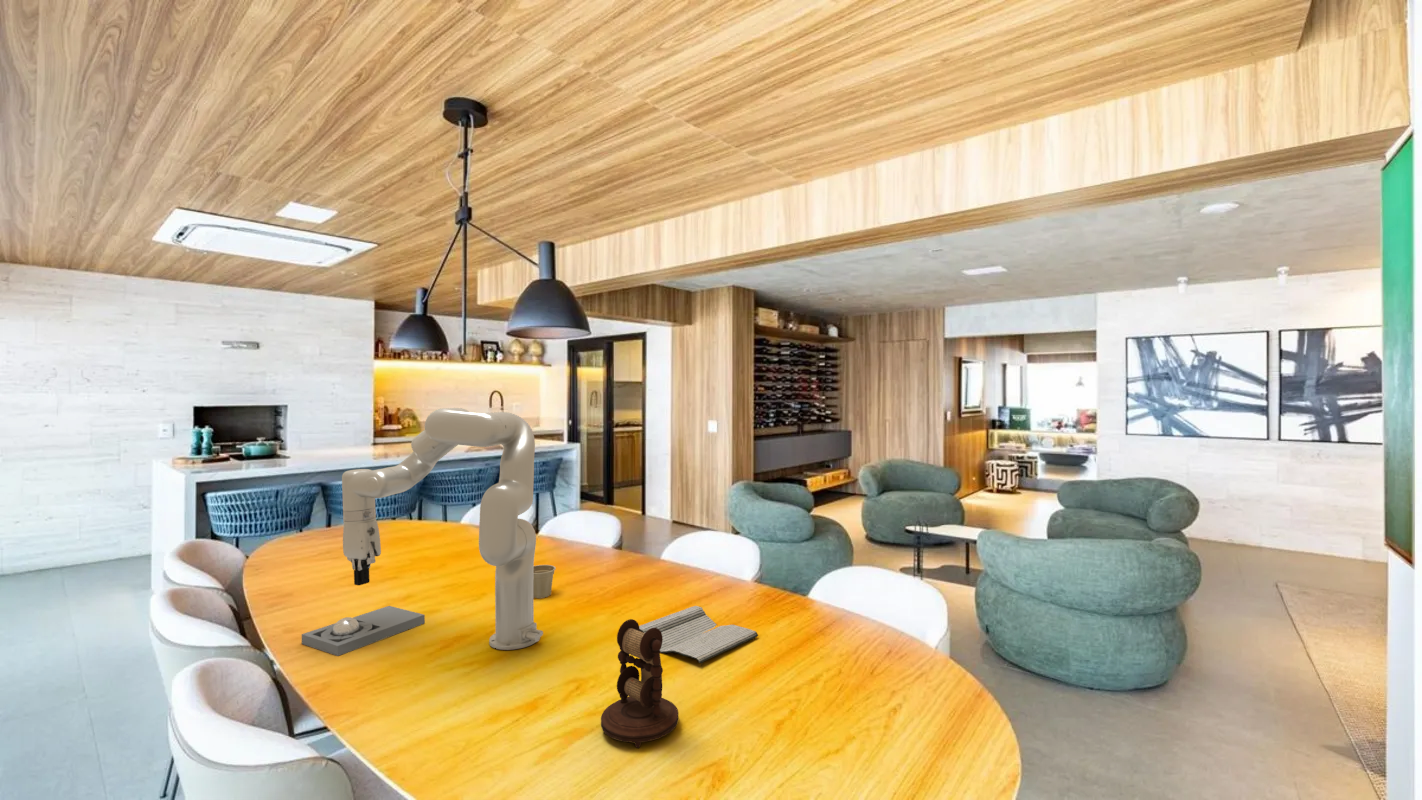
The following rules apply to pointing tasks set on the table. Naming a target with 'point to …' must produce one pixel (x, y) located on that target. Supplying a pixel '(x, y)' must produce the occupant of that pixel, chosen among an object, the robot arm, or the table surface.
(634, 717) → the thread spool stand
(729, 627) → the mat
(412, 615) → the hole board
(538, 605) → the table surface
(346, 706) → the table surface
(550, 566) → the flower pot
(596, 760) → the table surface
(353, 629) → the steel ball
